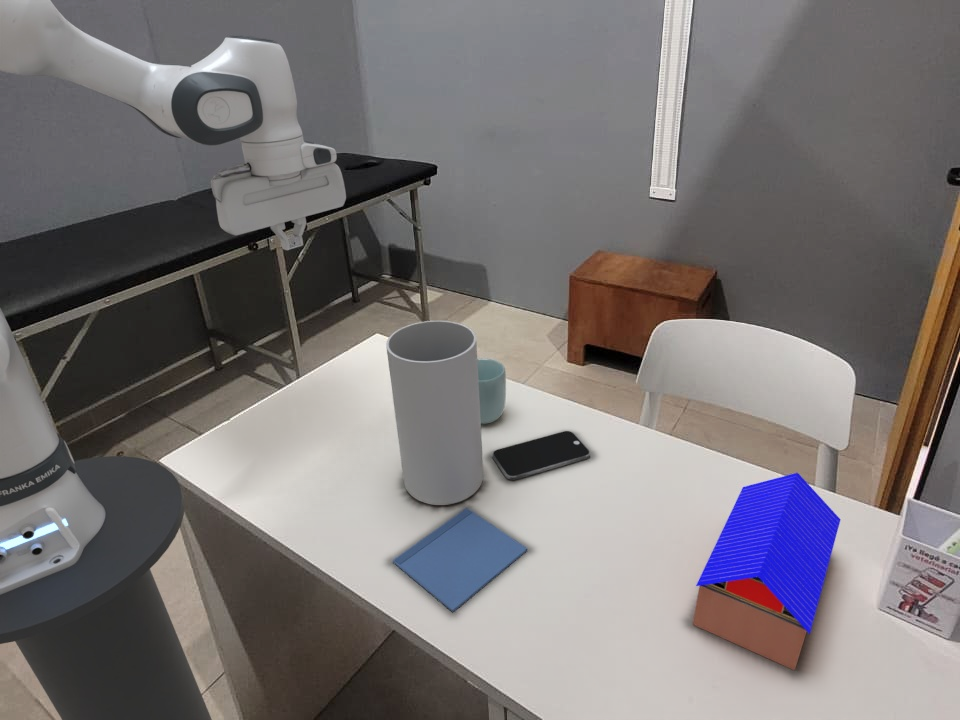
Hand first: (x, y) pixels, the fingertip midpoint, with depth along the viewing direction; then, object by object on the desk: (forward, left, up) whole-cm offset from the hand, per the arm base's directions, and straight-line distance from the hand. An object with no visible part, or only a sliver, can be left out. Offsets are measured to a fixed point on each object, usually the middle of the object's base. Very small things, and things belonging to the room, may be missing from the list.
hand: (292, 247), depth 102 cm
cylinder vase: (+3, -29, -33) cm, 44 cm away
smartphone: (+18, -36, -33) cm, 52 cm away
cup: (+20, -21, -33) cm, 44 cm away
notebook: (-6, -42, -33) cm, 54 cm away
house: (+16, -74, -33) cm, 83 cm away
